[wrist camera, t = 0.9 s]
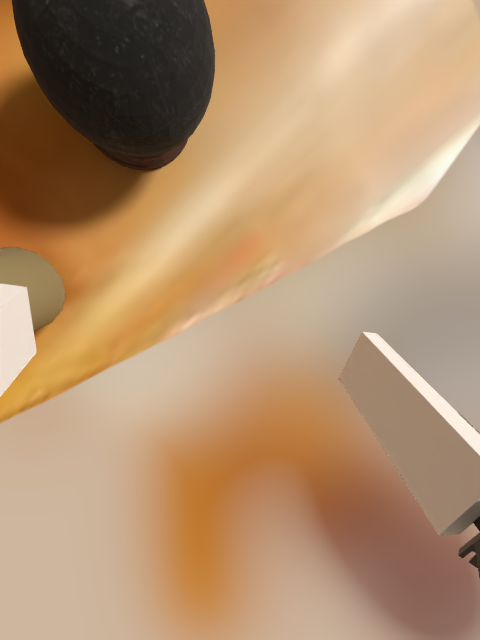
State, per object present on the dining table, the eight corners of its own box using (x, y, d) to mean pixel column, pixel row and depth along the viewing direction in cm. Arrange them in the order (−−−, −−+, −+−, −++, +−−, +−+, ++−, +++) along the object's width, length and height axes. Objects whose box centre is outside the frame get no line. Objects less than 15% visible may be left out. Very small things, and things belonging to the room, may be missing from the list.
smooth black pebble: (222, 94, 30) (272, -45, 16) (166, 204, 31) (168, 164, 17) (99, -5, 26) (23, -314, 12) (39, 127, 27) (-97, -12, 13)
